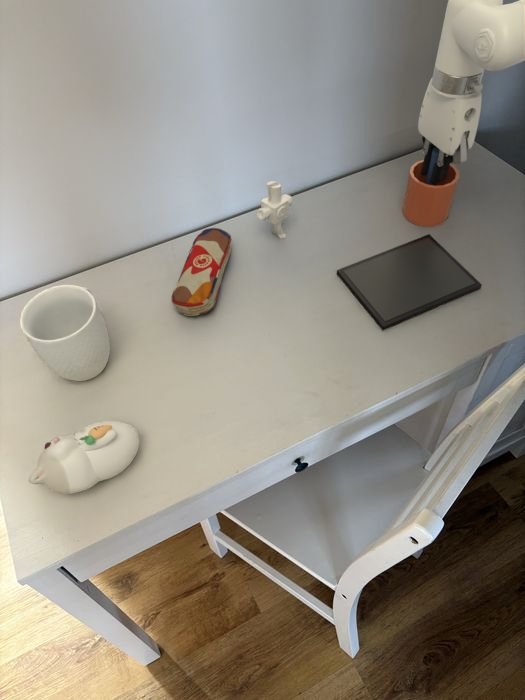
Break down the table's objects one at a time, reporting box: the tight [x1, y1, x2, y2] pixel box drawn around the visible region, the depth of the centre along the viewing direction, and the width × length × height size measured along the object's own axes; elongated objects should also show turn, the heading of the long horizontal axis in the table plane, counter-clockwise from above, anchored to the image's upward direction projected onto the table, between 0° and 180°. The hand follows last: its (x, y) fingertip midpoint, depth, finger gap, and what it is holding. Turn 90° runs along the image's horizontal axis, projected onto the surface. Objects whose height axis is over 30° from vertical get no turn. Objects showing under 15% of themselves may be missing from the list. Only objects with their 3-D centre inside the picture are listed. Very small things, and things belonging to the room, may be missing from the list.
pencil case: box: [170, 227, 232, 317], centre depth 96 cm, size 11×20×5 cm, turn 155°
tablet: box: [336, 233, 483, 331], centre depth 94 cm, size 20×15×1 cm
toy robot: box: [256, 180, 293, 239], centre depth 99 cm, size 4×8×12 cm, turn 133°
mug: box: [19, 284, 111, 382], centre depth 83 cm, size 15×11×13 cm
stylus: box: [425, 147, 440, 186], centre depth 100 cm, size 2×2×13 cm
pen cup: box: [402, 159, 460, 228], centre depth 102 cm, size 9×9×9 cm
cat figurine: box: [28, 420, 140, 495], centre depth 73 cm, size 10×8×15 cm
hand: (433, 176), depth 99 cm, fingers closed on stylus, 2 cm apart
